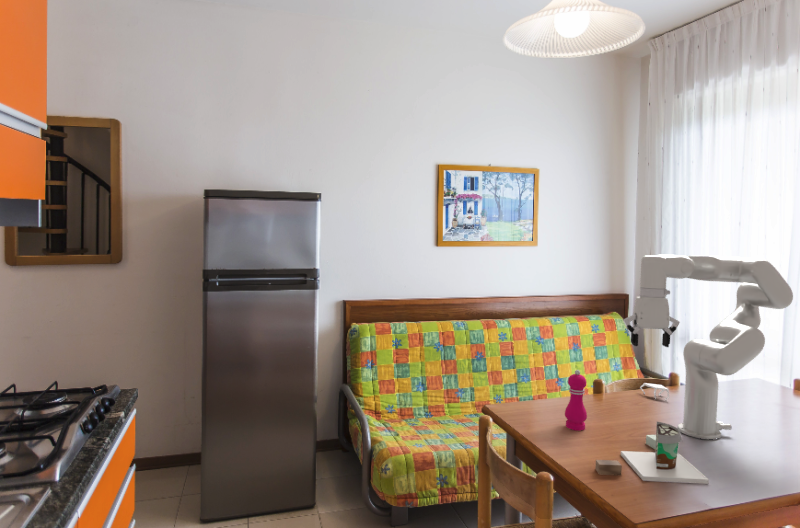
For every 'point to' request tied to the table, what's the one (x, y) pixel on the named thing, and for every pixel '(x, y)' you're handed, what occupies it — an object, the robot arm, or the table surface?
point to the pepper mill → (576, 403)
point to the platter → (647, 470)
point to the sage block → (651, 441)
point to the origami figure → (656, 389)
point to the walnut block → (608, 467)
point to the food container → (666, 446)
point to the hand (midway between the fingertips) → (650, 345)
